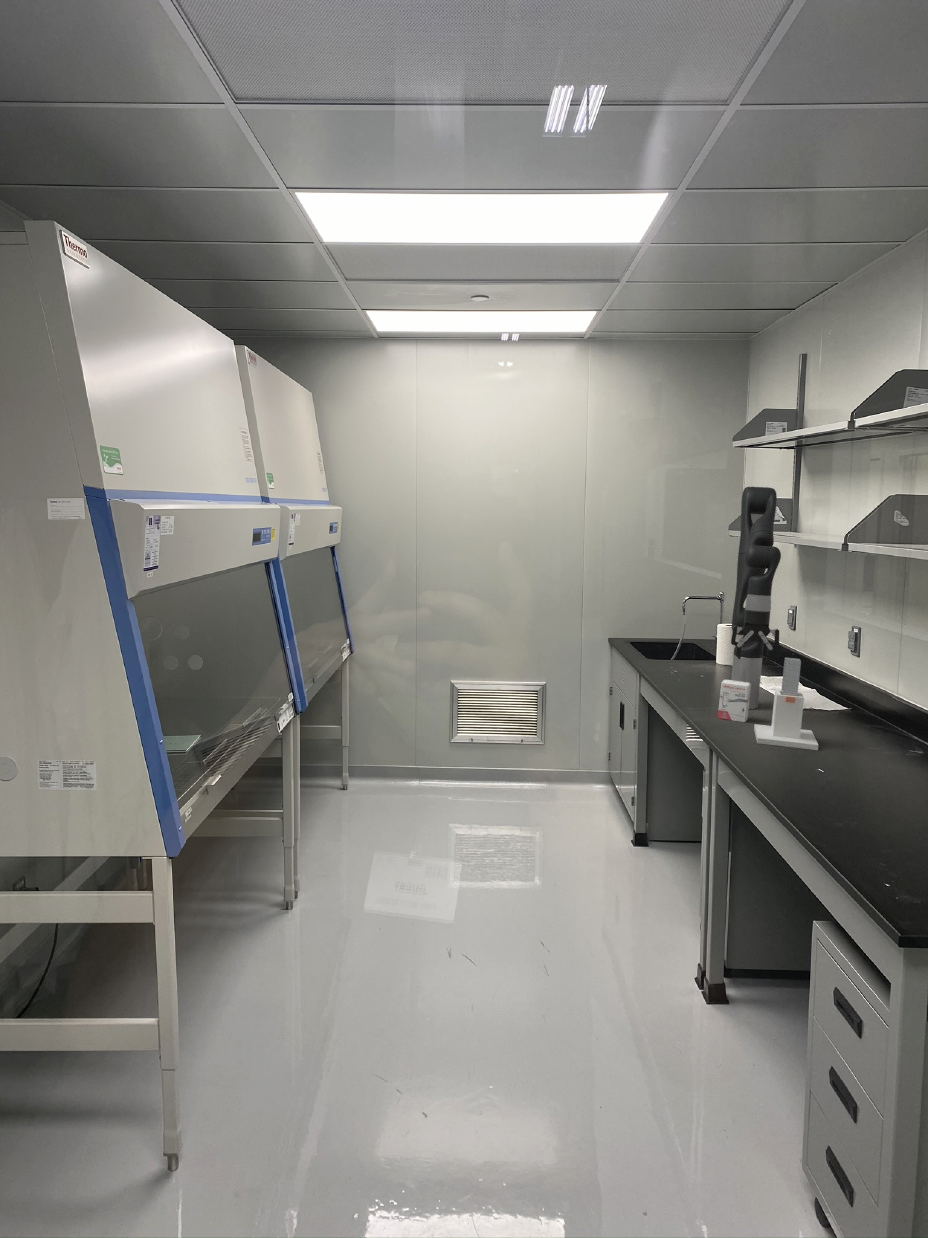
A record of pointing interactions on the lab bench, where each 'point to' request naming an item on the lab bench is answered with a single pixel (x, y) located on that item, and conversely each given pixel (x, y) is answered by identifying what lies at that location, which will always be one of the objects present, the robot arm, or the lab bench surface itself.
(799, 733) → the stand housing
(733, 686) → the ink box
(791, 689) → the steel post
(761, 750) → the lab bench surface
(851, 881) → the lab bench surface
